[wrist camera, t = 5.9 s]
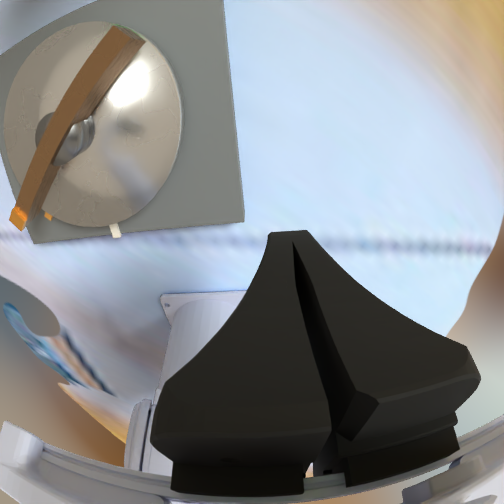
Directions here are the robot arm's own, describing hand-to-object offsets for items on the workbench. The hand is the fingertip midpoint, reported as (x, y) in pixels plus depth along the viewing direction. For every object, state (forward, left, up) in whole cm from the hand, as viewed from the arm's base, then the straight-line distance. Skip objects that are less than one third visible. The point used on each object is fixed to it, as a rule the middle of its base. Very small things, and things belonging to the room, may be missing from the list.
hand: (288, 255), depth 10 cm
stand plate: (+5, +11, -9) cm, 15 cm away
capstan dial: (+5, +11, -8) cm, 14 cm away
